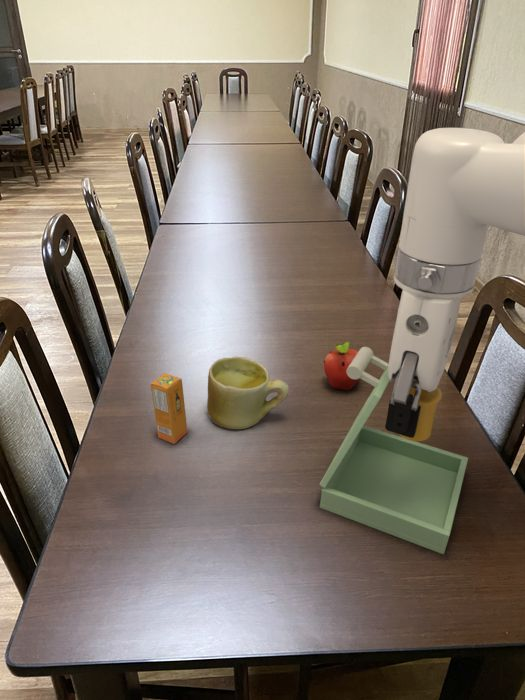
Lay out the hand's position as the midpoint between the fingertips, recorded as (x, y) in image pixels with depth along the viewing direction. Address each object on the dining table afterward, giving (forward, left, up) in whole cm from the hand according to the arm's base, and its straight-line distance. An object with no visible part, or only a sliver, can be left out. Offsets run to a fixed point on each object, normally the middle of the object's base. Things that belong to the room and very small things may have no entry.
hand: (406, 417), depth 61 cm
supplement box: (+28, +17, -15) cm, 36 cm away
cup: (-1, 0, -1) cm, 2 cm away
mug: (+26, +5, -15) cm, 31 cm away
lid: (+6, -1, -4) cm, 7 cm away
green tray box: (+2, -3, -15) cm, 16 cm away
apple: (+24, -13, -15) cm, 31 cm away
